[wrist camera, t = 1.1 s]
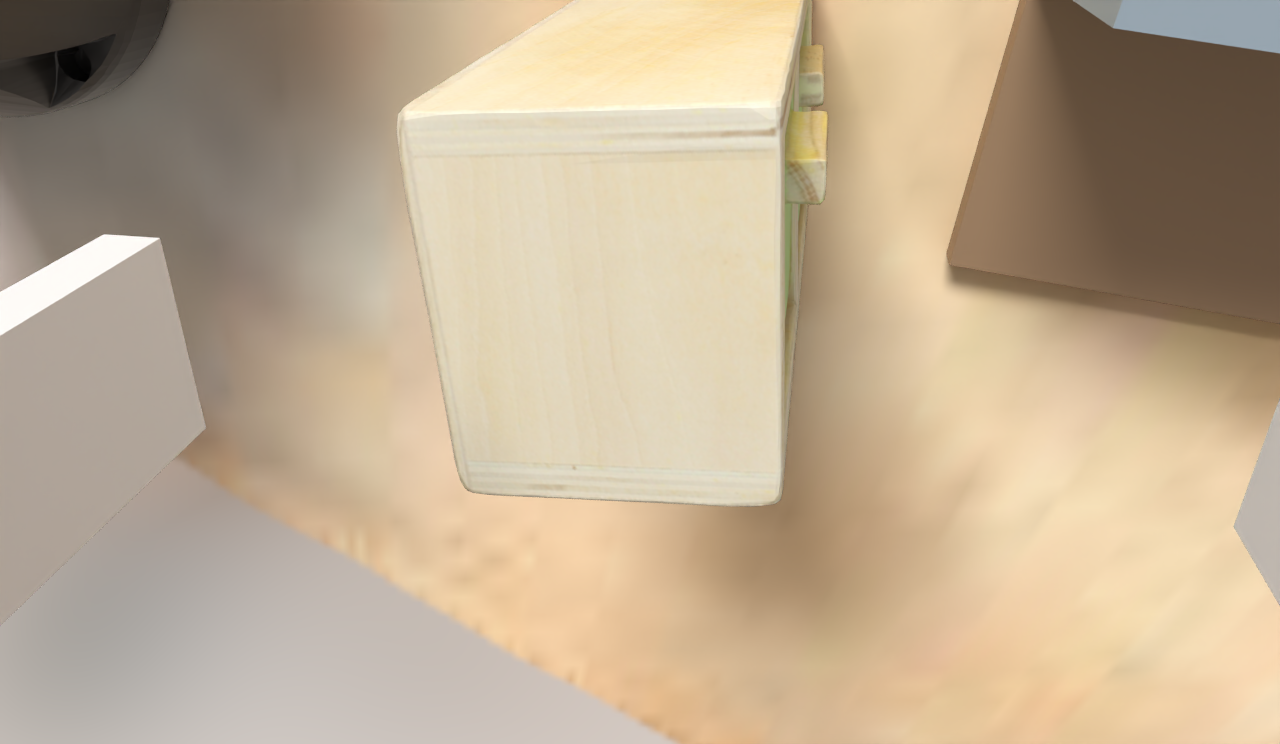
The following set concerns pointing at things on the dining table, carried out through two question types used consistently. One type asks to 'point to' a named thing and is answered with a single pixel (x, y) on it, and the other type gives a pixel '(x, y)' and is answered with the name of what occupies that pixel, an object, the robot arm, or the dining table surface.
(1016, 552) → the dining table surface
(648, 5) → the toy refrigerator
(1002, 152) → the cleat board
